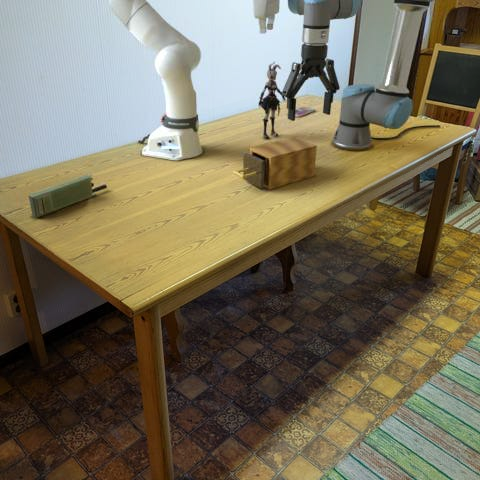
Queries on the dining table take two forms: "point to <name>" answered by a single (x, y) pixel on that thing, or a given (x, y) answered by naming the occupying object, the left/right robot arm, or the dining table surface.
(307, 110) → the smartphone
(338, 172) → the dining table surface
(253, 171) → the drawer
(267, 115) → the figurine
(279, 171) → the cabinet
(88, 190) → the handheld radio
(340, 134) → the right robot arm
